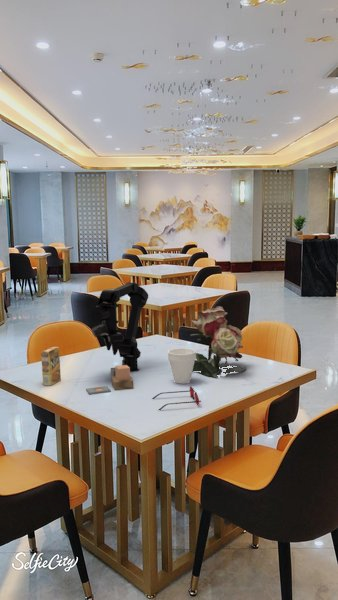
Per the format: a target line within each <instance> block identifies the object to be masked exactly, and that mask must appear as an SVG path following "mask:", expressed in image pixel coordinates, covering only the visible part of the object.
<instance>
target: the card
mask: <svg viewBox="0 0 338 600" xmlns="http://www.w3.org/2000/svg"><path fill="white" fill-rule="evenodd" d="M85 391H86V392H87V393H88V395H89V396H90V395H98V394H105V393H111V392H112V391H111V388H110V387H109V386H108V385H104V386H96V387H88V388H85Z"/></svg>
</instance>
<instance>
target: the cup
mask: <svg viewBox="0 0 338 600" xmlns="http://www.w3.org/2000/svg"><path fill="white" fill-rule="evenodd" d="M196 353H197V351H196V350H195V349H193V348H189V347H177V348H176V347H175V348H172V349H169V350H167V358H168V361H169V366H170V369H171V373H172V378H173V381H175V382H176V383H175V382H174V383H175V384H177V383H187V384H189V383H191V379H192V375H193V372H192V371H193V366H194V362H195V360H197V359H196ZM188 382H189V383H188Z"/></svg>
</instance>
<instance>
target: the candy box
mask: <svg viewBox="0 0 338 600" xmlns="http://www.w3.org/2000/svg"><path fill="white" fill-rule="evenodd" d="M40 355H41V370H42V371H41V372H42V385H43V386H52V385H54V384H56V383H59V382H60V381H61V380H62V375H61V360H60V359H61V358H60V347H59V346H50V347H48V348H46V349H44V350H41V351H40Z"/></svg>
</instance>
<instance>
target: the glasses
mask: <svg viewBox="0 0 338 600" xmlns="http://www.w3.org/2000/svg"><path fill="white" fill-rule="evenodd" d="M186 392H187V393H188V392H189V395H190V398H192V400H195V401H184V402H183V401H182V402H171V403H165V404H164V405H163V406H161V407H160V408H158V410H160V411H161V410H162V409H163V408H165V407H166V406H168V405H178V404H179V405H180V404H190V403H195V404H197V405H196V406H199V405H200V403H201V402H202V401H201V400H200V399H199V396H198V393H197V391H195V388H194V387H192V385H190V386H189V390H181V391H180V390H179V391H178V390H177V391H168V392H160V393H158V394H155V396H153V397H152V398H151V400H154V399H156V398H157V397H158V396H160V395H162V394H173V393H186Z"/></svg>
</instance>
